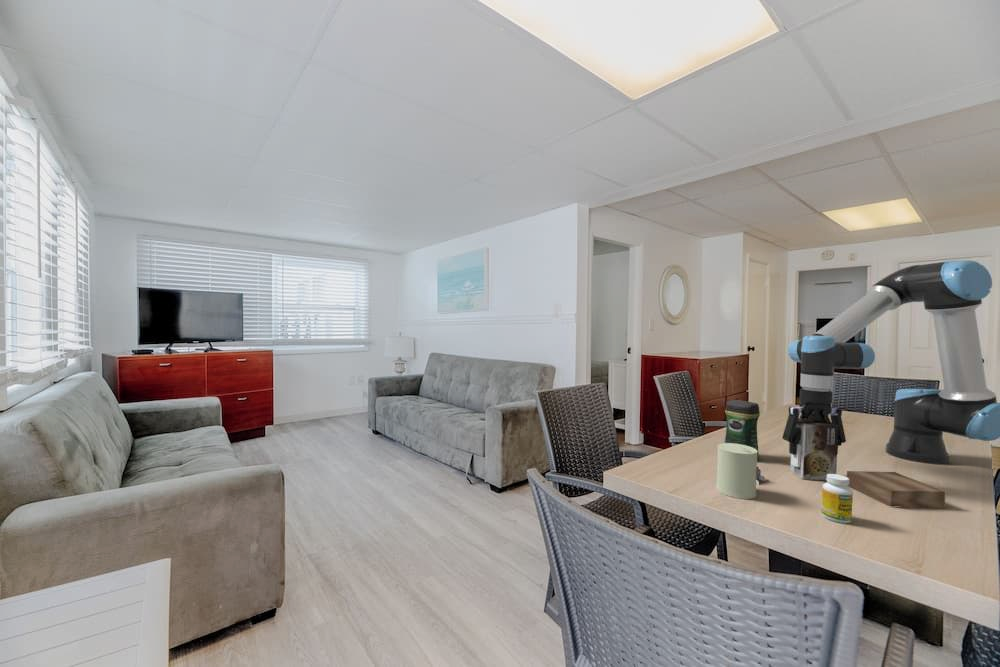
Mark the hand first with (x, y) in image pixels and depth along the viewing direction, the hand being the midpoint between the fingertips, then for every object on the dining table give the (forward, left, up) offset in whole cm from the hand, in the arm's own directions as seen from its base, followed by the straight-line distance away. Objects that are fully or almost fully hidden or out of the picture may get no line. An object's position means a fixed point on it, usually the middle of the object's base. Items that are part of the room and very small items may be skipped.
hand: (812, 465), depth 120 cm
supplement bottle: (+14, +26, -3) cm, 30 cm away
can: (+29, +12, -3) cm, 32 cm away
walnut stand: (-11, +13, -3) cm, 17 cm away
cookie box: (0, 0, -3) cm, 3 cm away
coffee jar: (+11, -17, -3) cm, 21 cm away
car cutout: (+16, +2, -4) cm, 17 cm away
